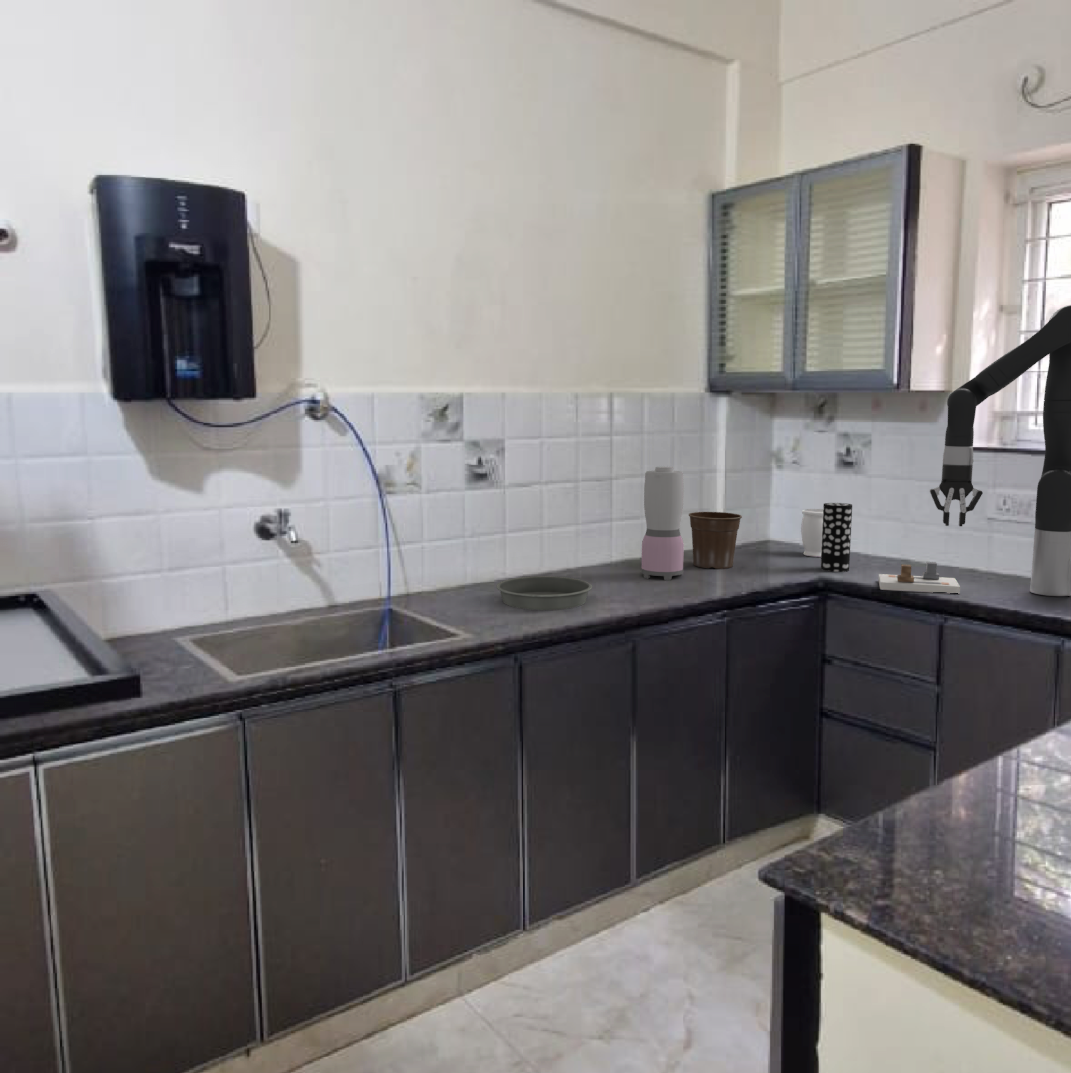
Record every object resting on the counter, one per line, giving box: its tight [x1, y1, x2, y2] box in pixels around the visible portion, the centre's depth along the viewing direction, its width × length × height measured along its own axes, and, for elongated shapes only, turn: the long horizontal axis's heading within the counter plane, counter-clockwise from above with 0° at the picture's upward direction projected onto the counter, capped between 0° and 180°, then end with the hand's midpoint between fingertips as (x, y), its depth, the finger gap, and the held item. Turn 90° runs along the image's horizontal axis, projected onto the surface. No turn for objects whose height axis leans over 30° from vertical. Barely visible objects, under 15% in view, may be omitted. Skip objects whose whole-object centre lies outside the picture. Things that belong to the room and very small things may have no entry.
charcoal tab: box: [922, 561, 940, 579], centre depth 265 cm, size 4×4×4 cm
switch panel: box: [878, 573, 961, 595], centre depth 263 cm, size 20×13×2 cm, turn 72°
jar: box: [800, 508, 823, 558], centre depth 316 cm, size 11×10×15 cm
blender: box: [640, 465, 685, 581], centre depth 278 cm, size 16×12×32 cm
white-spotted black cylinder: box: [820, 502, 853, 573], centre depth 289 cm, size 8×8×20 cm
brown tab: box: [897, 564, 914, 582], centre depth 260 cm, size 4×4×4 cm
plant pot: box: [688, 511, 743, 570], centre depth 295 cm, size 16×16×16 cm
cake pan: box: [496, 575, 593, 611], centre depth 244 cm, size 25×25×4 cm
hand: (953, 525), depth 261 cm, fingers open, 3 cm apart
